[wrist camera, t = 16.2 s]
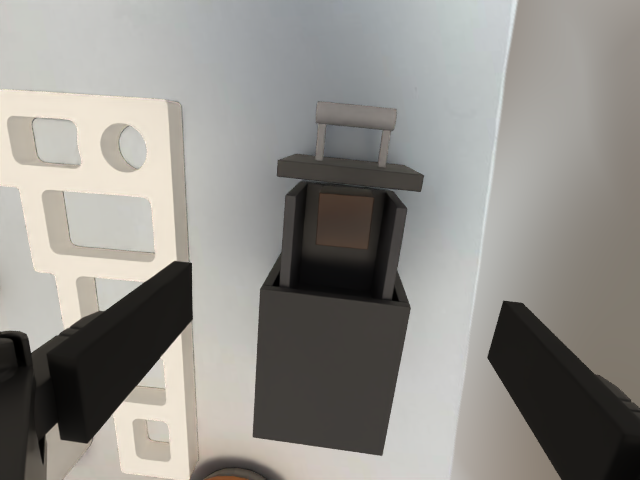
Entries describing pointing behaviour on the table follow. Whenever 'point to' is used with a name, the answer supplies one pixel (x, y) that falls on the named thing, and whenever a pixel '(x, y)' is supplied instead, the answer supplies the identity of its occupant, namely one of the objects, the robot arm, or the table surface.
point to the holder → (86, 263)
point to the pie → (234, 475)
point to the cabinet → (327, 366)
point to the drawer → (388, 210)
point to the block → (344, 217)
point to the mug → (62, 454)
